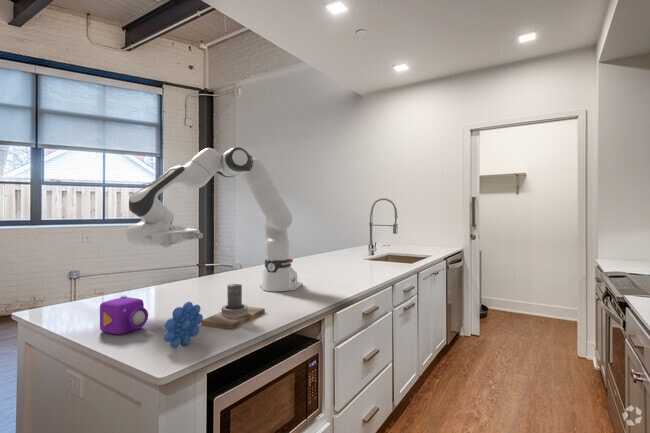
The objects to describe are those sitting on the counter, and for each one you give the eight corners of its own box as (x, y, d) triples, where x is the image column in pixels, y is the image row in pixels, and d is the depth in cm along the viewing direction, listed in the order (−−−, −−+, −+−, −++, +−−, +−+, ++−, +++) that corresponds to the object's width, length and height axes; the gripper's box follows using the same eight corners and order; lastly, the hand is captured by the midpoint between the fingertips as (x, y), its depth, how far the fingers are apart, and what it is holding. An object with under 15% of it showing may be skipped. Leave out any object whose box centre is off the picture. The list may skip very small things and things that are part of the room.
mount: (237, 309, 137) (237, 298, 137) (264, 312, 133) (264, 301, 133) (201, 324, 119) (201, 312, 119) (231, 329, 114) (231, 316, 114)
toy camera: (133, 338, 107) (132, 304, 106) (93, 335, 109) (93, 302, 109) (157, 326, 117) (156, 295, 117) (120, 323, 120) (120, 293, 120)
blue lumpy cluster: (193, 336, 108) (193, 296, 108) (207, 341, 104) (207, 299, 104) (155, 348, 99) (155, 304, 98) (169, 354, 95) (169, 308, 94)
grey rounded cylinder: (233, 311, 129) (233, 283, 129) (244, 313, 127) (244, 284, 127) (224, 315, 125) (224, 286, 124) (236, 316, 123) (236, 287, 123)
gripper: (140, 228, 127) (171, 229, 122) (182, 225, 146) (210, 226, 141) (140, 246, 127) (171, 248, 122) (182, 241, 146) (210, 242, 141)
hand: (192, 236), depth 132 cm, fingers open, 8 cm apart
